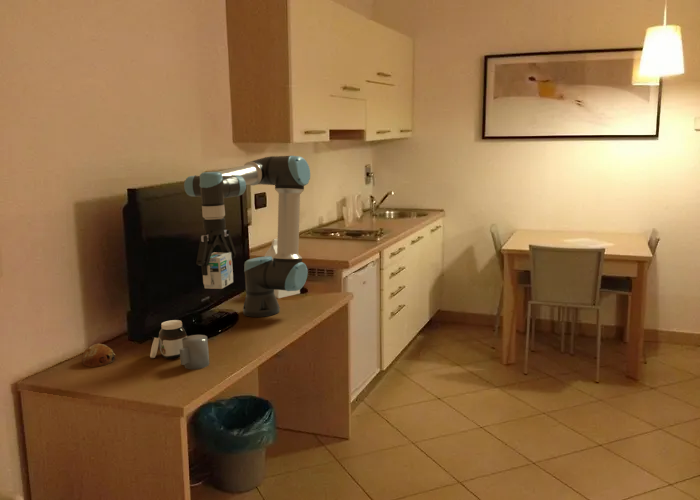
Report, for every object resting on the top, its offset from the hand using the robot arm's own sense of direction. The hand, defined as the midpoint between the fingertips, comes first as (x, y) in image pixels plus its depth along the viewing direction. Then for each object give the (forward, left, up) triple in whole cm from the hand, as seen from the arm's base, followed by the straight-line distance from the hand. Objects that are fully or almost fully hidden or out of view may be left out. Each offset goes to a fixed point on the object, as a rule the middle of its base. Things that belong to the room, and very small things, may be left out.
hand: (218, 280), depth 224 cm
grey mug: (+19, +2, -24) cm, 31 cm away
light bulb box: (0, 0, -2) cm, 2 cm away
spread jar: (+14, -13, -24) cm, 31 cm away
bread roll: (+27, -31, -25) cm, 48 cm away
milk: (-73, -23, -24) cm, 80 cm away
